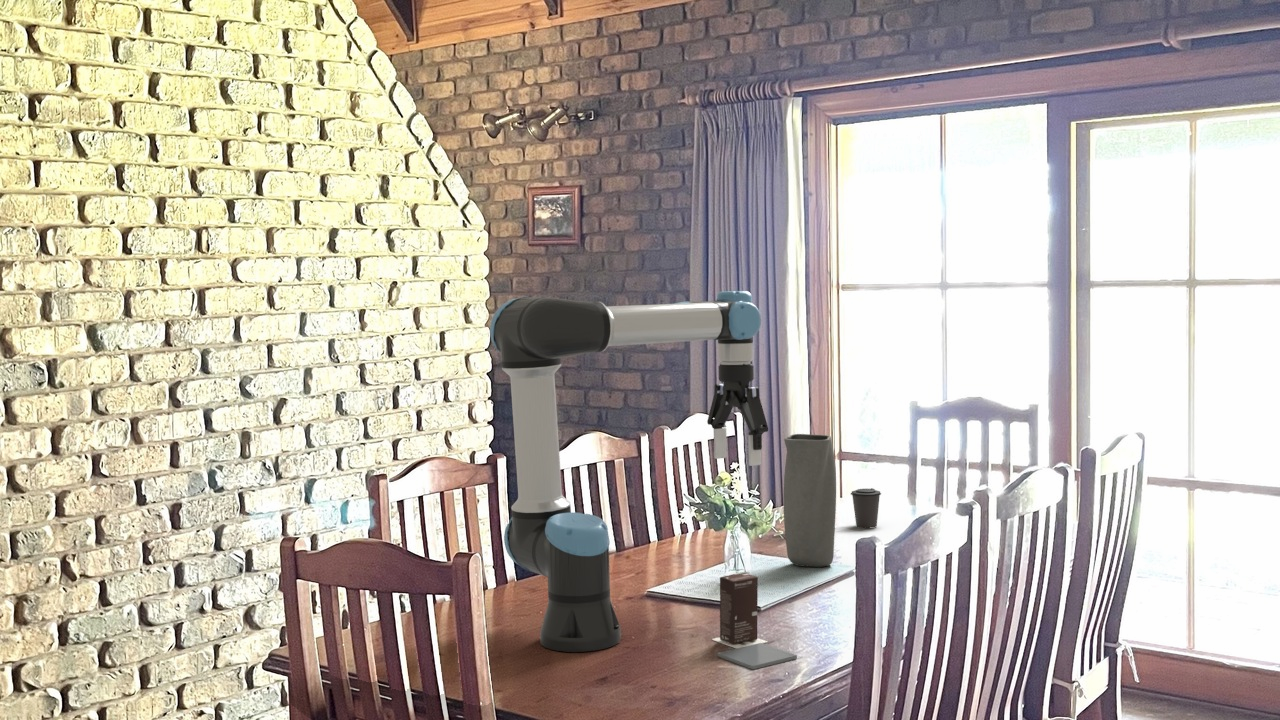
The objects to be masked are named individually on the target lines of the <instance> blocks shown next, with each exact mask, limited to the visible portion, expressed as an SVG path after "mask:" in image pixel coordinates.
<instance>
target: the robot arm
mask: <svg viewBox="0 0 1280 720" xmlns="http://www.w3.org/2000/svg"><path fill="white" fill-rule="evenodd" d="M761 317H762V316H761V313H760V310H759V308H758V307H757V306H756V305H755V304H754V303H753V296H752V294H751V293H750V292H749V291H748V290H736V291H735V290H733V291H732V290H730V291H725V290H724V291H719V292H717V295H716V300H711V301H709V300H707V301H705V300H704V301H702V300H701V301H697V300H696V301H688V300H685V301H681V302H680V301H679V302H675V303H667V304H666V303H663V304H662V303H660V304H640V305H639V304H637V305H636V304H635V305H615V306H614V305H613V306H612V305H611V306H606V304H604V303H603V302H602V301H582V300H572V299H567V298H566V299H565V298H557V297H533V296H530V297H529V296H522V297H518V298H513V299H510V300H507V301H505V302H503V304H501V305H500V306H499V307H498V308H497V310H496V311H495V312H494V314H493V316H492V318H491V321H490V324H489V326H490V327H489V336H490V340H491V342H492V344H493V346H494V348H495V349H496V350H497V351H498V352H500V358H501V359H500V361H501V370H502V371H503V372H504V373H506V375H508V376H509V379H510V389H511V390H510V392H511V393H510V394H511V404H512V405H511V406H512V422H513V436H514V452H515V466H516V479H517V480H516V481H517V494H518V495H517V500H516V501H515V502H514V503H513V504H512V505H511V518H510V521H509V522H508V523H507V524H506V526H505V529H504V534H503V535H504V537H503V543H504V548H505V550H506V553H507V555H508V556H509V558H510V559H511V560H512V561H513V562H514V563H515V564H516V565H518V566H519V567H521V568H523V569H524V570H526V571H528V572H530V573H535V574H537V575H540V576H543V577H545V578H547V596H548V598H547V599H548V602H547V605H546V610H545V613H544V617H543V620H542V624H541V627H540V631H539V637H540V638H539V639H540V640H539V641H540V645H541V646H542V647H544V648H546V649H549V650H553V651H556V652H557V651H558V652H568V653H580V652H581V653H582V652H583V653H584V652H585V653H586V652H592V651H593V652H594V651H600V650H605V649H608V648H612V647H613V646H616V645H617V644H619V643H620V642H621V640H622V637H621V632H622V631H621V626H620V623H619V621H618V620H619V619H618V618H617V614H616V612H615V609H614V606H613V603H612V601H611V600H612V599H611V585H610V584H611V583H610V581H611V579H610V578H611V577H610V576H611V575H610V574H611V573H610V535H609V531H608V525H607V523H606V522H605V521H604V520H603V519H602V518H601V517H599V516H596V515H594V514H590V513H582V512H572V510H571V509H572V508H571V507H572V506H571V502H570V501H569V500H568V499H567V498H566V497H565V496H564V495H563V490H562V476H561V458H560V456H561V455H560V443H559V441H560V440H559V427H558V412H557V411H558V410H557V396H556V381H555V378H556V377H555V374H556V372H557V371H558V370H559V369H560V368H561V367H562V358H567V357H573V356H579V355H585V354H592V353H603V352H604V351H606V350H607V349H608V347H616V346H618V347H619V346H633V345H634V346H635V345H650V344H664V343H665V344H667V343H680V342H682V343H683V342H684V343H685V342H698V341H699V342H700V341H712V340H713V341H714V340H715V341H717V360H718V362H720V364H719V365H718V381H719V382H722V383H715V384H714V393H713V397H712V402H711V406H710V409H709V413H708V417H707V424H708V425H709V426H710V425H711V428H712V429H713V442H714V443H713V445H714V447H713V448H714V450H713V452H714V453H713V454H714V459H716V460H717V459H727V458H728V455H727V451H728V450H727V425H726V423H727V420H728V418H729V416H730V414H731V412H732V411H733V408H734V407H735V408H737V409H738V410H740V412H741V414H742V417H743V419H744V421H745V423H746V425H747V428H748V430H749V432H748V435H747V436H748V437H747V438H748V439H747V440H748V445H747V446H748V466H750V467H751V466H753V467H754V466H761V465H762V448H763V445H762V440H763V438H762V436H763V434H764V433H766V432H768V431H769V426H768V422H767V419H766V415H765V412H764V408H763V404H762V402H761V398H760V389H759V386H753V387H752V386H751V387H750V382H753V381H754V378H755V375H754V370H755V369H754V365H753V363H751V362H753V361H754V336H756V335H757V334H758V332H759V330H760V329H761V325H762V318H761Z"/></svg>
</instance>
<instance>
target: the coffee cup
mask: <svg viewBox="0 0 1280 720" xmlns="http://www.w3.org/2000/svg"><path fill="white" fill-rule="evenodd" d="M850 495H851V497H852V503H853V509H854V510H853V511H854V518H855V526H856V528H859V529H871V528H870V527H875V526H878V517H879V509H880V508H879V507H880V506H879V505H880V496H881V495H882V492H881V491H880V490H876V489H875V488H872V487H871V488H858V489H855V490H852V491H851V492H850ZM875 528H876V527H875Z"/></svg>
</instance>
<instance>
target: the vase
mask: <svg viewBox="0 0 1280 720" xmlns="http://www.w3.org/2000/svg"><path fill="white" fill-rule="evenodd" d="M783 441H784V444H785V448H786V456H785V463H784V464H785V466H784V474H783V501H782V502H783V522H784V524H783V525H784V535H785V536H784V537H785V545H786V554H787V558H788V560H789V561H790V562H791V563H792V564H793V565H795V566H799V567H807V568H809V567H814V568H815V567H816V568H821V567H828V566H830V565H831V564H832V563H833V561H834V555H835V552H834V551H835V536H836V535H835V531H836V514H837V513H836V511H837V470H836V469H837V468H836V460H835V452H834V447H833V441H832V437H831V435H827V434H808V433H805V434H804V433H793V434H790V435H789V436H785V437H784V438H783Z"/></svg>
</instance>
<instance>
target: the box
mask: <svg viewBox="0 0 1280 720" xmlns="http://www.w3.org/2000/svg"><path fill="white" fill-rule="evenodd" d="M758 579H759V577H758V576H755V575H752V574H751V573H748V572H742V573H741V572H740V573H734V574H729V575H724V576H720V577H719V631H720V632H719V637H720V640H722V641H724V642H726V643H730V644H736V643H741V642H746V641H750V640H756V639H757V638H758V598H759V597H758V596H759V595H758V583H759V581H758Z"/></svg>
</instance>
